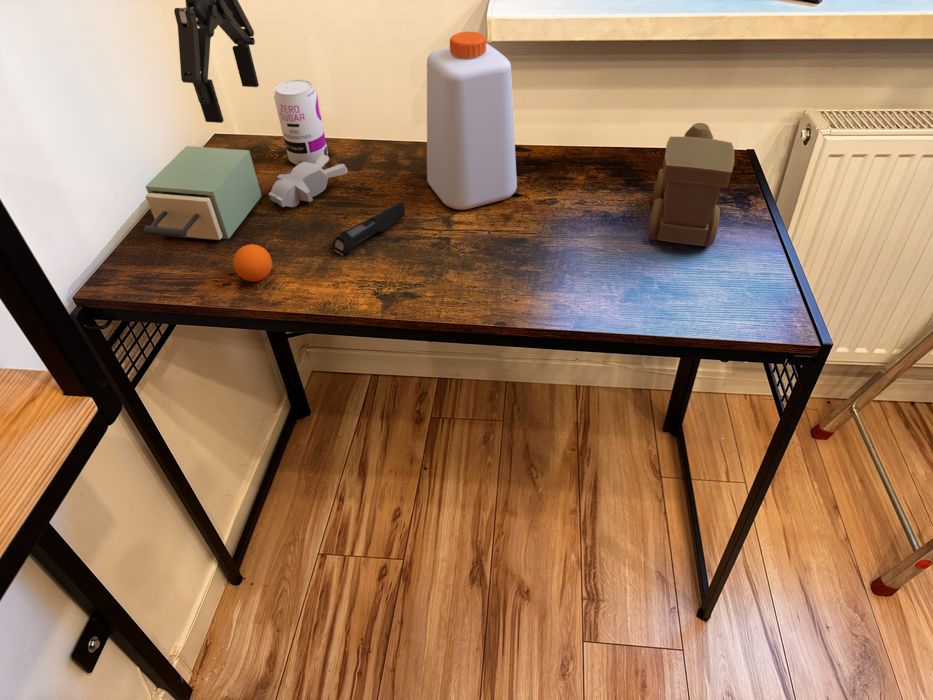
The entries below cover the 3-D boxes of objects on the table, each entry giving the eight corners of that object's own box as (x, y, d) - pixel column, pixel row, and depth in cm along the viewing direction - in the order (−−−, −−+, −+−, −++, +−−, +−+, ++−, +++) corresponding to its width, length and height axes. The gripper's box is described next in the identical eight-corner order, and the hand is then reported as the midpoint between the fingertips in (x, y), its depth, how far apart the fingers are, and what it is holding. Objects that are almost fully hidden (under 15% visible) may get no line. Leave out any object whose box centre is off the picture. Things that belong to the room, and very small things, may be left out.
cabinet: (228, 239, 119) (213, 191, 112) (164, 233, 121) (145, 186, 114) (261, 196, 129) (249, 150, 123) (202, 191, 131) (186, 145, 125)
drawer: (203, 261, 113) (189, 221, 108) (142, 255, 115) (125, 216, 109) (251, 199, 127) (241, 162, 121) (196, 195, 129) (183, 157, 123)
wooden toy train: (713, 262, 110) (738, 171, 99) (642, 252, 113) (659, 163, 101) (715, 199, 124) (738, 113, 112) (652, 192, 126) (668, 106, 115)
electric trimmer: (411, 220, 122) (410, 205, 120) (345, 257, 114) (342, 242, 112) (397, 213, 124) (395, 197, 122) (331, 249, 116) (328, 233, 114)
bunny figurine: (256, 181, 125) (318, 143, 132) (265, 203, 129) (324, 165, 136) (286, 198, 121) (348, 158, 127) (295, 221, 125) (355, 181, 131)
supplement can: (324, 145, 143) (311, 75, 133) (331, 163, 138) (318, 91, 127) (286, 152, 142) (270, 82, 131) (291, 170, 136) (275, 98, 126)
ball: (232, 287, 109) (222, 257, 105) (248, 265, 113) (238, 235, 109) (267, 290, 108) (258, 260, 104) (281, 268, 112) (273, 238, 108)
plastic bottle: (490, 162, 136) (490, 16, 117) (524, 197, 126) (529, 44, 107) (421, 179, 132) (408, 30, 113) (450, 217, 122) (442, 61, 103)
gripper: (173, -16, 86) (220, 139, 101) (253, -64, 103) (283, 73, 118) (121, -17, 87) (175, 136, 102) (209, -65, 105) (244, 71, 119)
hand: (233, 103), depth 110 cm, fingers open, 13 cm apart
